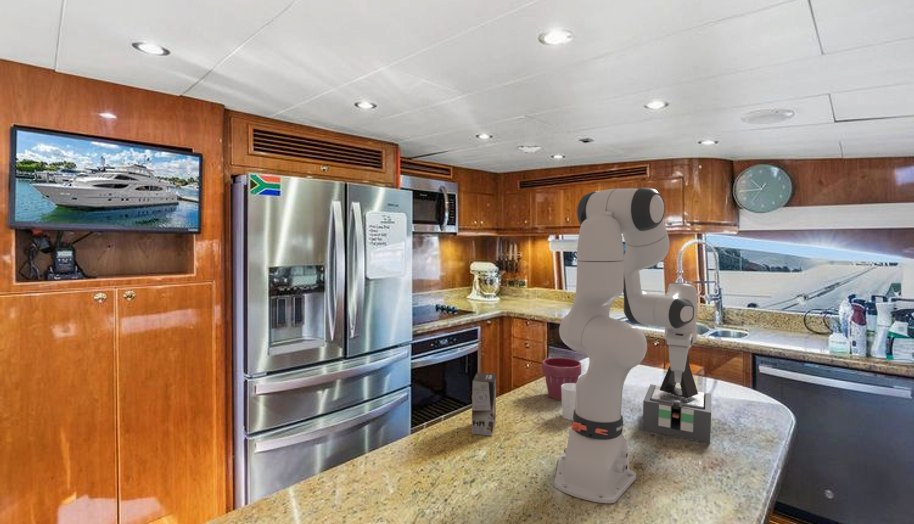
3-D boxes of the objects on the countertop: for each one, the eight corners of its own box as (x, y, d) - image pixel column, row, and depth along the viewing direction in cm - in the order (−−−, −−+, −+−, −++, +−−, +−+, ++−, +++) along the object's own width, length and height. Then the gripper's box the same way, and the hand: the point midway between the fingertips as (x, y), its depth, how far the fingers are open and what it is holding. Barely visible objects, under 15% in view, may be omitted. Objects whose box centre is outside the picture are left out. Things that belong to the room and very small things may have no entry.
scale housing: (710, 444, 128) (711, 413, 128) (642, 430, 137) (643, 401, 137) (710, 421, 144) (711, 393, 144) (649, 410, 153) (650, 384, 153)
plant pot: (543, 388, 175) (544, 355, 174) (580, 391, 171) (581, 358, 171) (539, 400, 161) (540, 365, 161) (580, 405, 158) (581, 369, 157)
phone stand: (698, 394, 138) (699, 356, 138) (688, 398, 135) (689, 358, 134) (669, 386, 146) (670, 350, 145) (659, 390, 142) (660, 352, 142)
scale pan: (703, 414, 128) (703, 410, 128) (650, 404, 135) (650, 401, 135) (704, 396, 143) (704, 392, 143) (656, 388, 150) (656, 385, 150)
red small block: (678, 418, 132) (678, 416, 132) (672, 417, 132) (672, 415, 132) (679, 415, 134) (679, 413, 134) (673, 414, 134) (673, 412, 134)
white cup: (586, 422, 142) (587, 391, 142) (560, 420, 144) (561, 389, 143) (584, 413, 150) (585, 383, 150) (560, 411, 152) (560, 382, 151)
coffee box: (492, 436, 132) (493, 382, 131) (471, 434, 134) (471, 380, 133) (496, 423, 141) (497, 373, 140) (475, 421, 143) (476, 371, 142)
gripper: (671, 328, 150) (670, 369, 151) (666, 339, 132) (664, 386, 133) (693, 330, 147) (691, 372, 148) (690, 342, 129) (688, 390, 130)
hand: (678, 378), depth 140 cm, fingers closed on phone stand, 6 cm apart
